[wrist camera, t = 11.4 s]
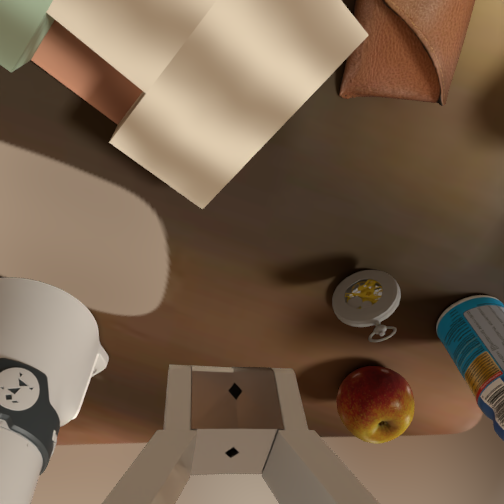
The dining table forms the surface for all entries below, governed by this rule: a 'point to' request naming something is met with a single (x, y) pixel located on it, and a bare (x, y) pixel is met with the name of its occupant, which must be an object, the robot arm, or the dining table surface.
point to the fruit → (375, 404)
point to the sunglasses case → (406, 49)
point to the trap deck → (185, 72)
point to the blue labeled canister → (478, 350)
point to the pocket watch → (367, 300)
